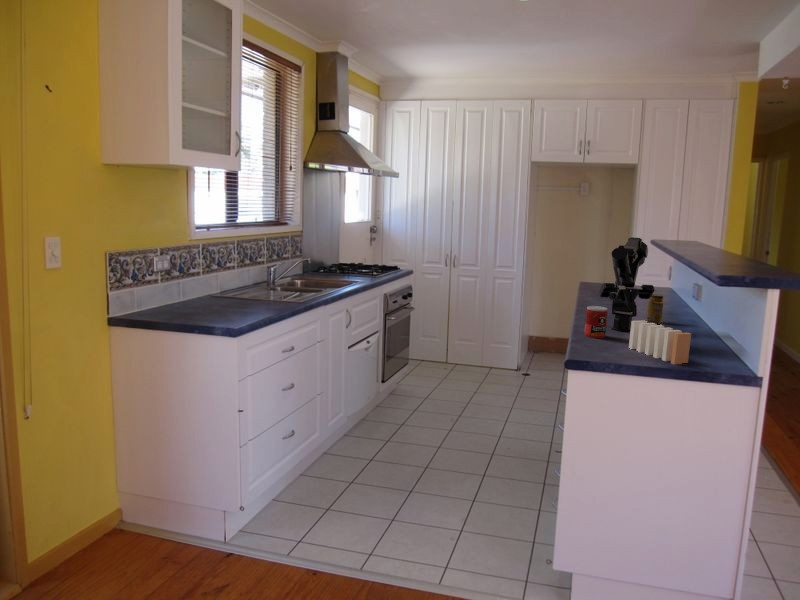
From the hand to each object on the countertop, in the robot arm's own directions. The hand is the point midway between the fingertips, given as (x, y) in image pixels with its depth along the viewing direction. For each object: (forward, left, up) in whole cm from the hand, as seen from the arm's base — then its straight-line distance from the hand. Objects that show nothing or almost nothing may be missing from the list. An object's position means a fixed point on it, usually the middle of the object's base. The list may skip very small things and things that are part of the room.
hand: (630, 309), depth 238 cm
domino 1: (+3, +7, -13) cm, 15 cm away
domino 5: (+4, +23, -13) cm, 27 cm away
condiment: (-44, -29, -13) cm, 54 cm away
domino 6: (+4, +27, -13) cm, 30 cm away
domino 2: (+3, +11, -13) cm, 17 cm away
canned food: (+3, -14, -13) cm, 19 cm away
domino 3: (+3, +15, -13) cm, 20 cm away
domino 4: (+4, +19, -13) cm, 23 cm away
